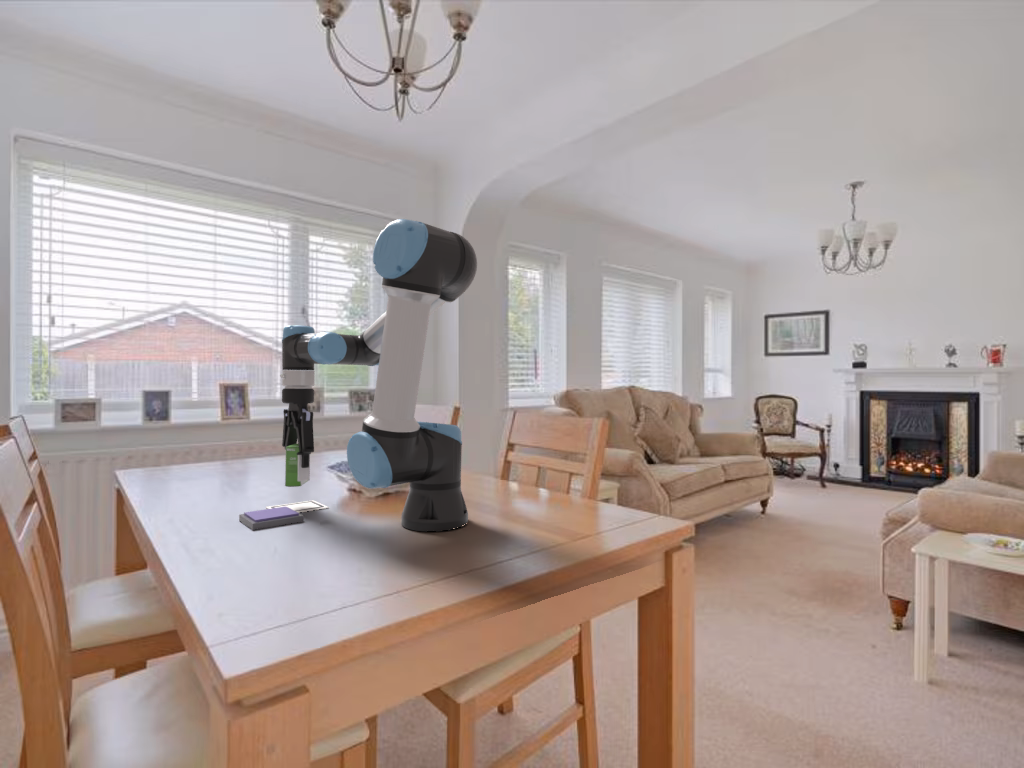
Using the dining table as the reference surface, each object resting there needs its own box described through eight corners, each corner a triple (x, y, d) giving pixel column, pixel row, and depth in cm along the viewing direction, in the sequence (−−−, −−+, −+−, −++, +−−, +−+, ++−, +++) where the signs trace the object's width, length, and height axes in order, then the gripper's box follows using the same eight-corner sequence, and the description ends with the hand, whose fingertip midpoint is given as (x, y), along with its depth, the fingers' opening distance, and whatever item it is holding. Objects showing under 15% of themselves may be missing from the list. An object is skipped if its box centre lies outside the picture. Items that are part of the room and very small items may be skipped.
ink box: (293, 481, 140) (294, 429, 140) (309, 481, 141) (309, 429, 140) (284, 486, 133) (285, 432, 133) (301, 486, 134) (301, 432, 133)
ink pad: (303, 521, 124) (303, 513, 124) (252, 530, 117) (252, 521, 117) (288, 513, 132) (288, 505, 132) (239, 520, 125) (239, 512, 125)
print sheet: (328, 508, 137) (328, 506, 137) (279, 516, 129) (279, 514, 129) (313, 501, 145) (313, 499, 145) (265, 508, 137) (266, 506, 137)
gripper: (269, 386, 142) (268, 473, 142) (298, 388, 126) (297, 486, 127) (298, 386, 147) (297, 470, 147) (329, 388, 131) (328, 482, 132)
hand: (297, 477), depth 137 cm, fingers closed on ink box, 8 cm apart
